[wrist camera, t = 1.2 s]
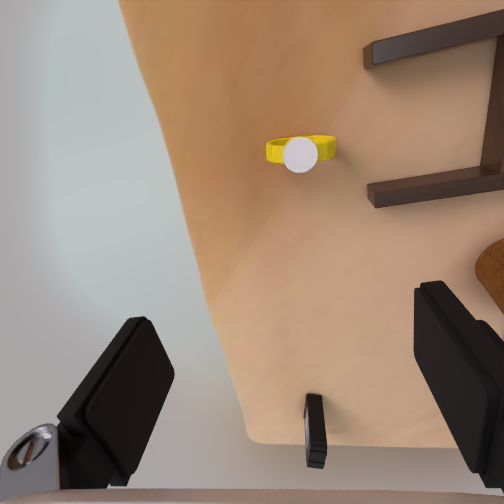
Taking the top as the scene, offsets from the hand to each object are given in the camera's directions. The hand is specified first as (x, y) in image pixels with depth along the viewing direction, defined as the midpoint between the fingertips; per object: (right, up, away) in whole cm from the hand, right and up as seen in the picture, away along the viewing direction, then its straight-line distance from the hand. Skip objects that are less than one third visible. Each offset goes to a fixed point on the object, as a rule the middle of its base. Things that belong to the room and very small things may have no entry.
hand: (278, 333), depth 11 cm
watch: (+4, +13, +18) cm, 23 cm away
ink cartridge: (+8, -20, +35) cm, 42 cm away
